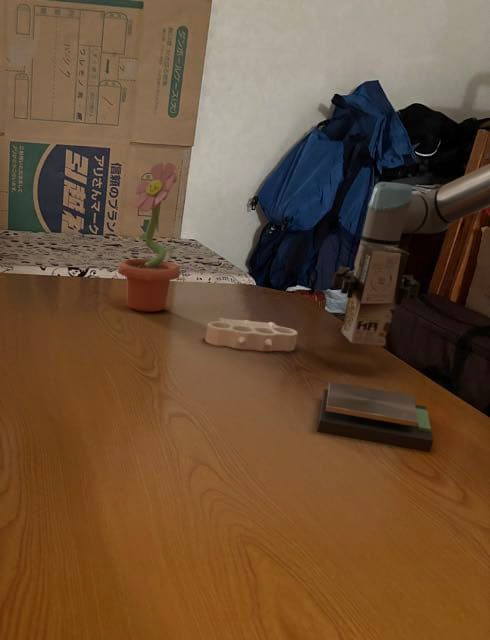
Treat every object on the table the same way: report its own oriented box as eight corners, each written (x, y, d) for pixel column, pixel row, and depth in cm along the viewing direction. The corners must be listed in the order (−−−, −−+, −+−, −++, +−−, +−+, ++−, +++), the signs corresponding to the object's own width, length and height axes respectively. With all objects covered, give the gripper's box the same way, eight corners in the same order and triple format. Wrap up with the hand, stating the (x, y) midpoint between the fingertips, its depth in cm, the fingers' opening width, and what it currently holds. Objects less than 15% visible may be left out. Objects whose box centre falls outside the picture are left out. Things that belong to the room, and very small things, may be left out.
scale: (422, 416, 125) (426, 403, 124) (429, 452, 112) (434, 437, 111) (322, 399, 129) (325, 386, 128) (317, 431, 115) (320, 417, 114)
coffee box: (386, 347, 139) (410, 252, 131) (350, 344, 139) (372, 249, 132) (373, 334, 147) (396, 244, 139) (339, 331, 147) (360, 242, 140)
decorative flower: (101, 301, 179) (113, 156, 164) (151, 298, 185) (167, 159, 170) (134, 317, 167) (151, 164, 153) (186, 314, 174) (207, 167, 159)
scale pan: (411, 402, 123) (413, 395, 123) (415, 429, 112) (418, 421, 112) (328, 388, 126) (329, 381, 126) (324, 413, 115) (326, 405, 115)
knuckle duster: (284, 336, 163) (300, 356, 151) (200, 329, 163) (208, 349, 150) (288, 320, 162) (304, 339, 149) (202, 313, 161) (211, 331, 148)
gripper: (422, 299, 153) (431, 323, 134) (317, 284, 158) (311, 306, 139) (434, 259, 150) (444, 279, 130) (326, 246, 154) (320, 263, 135)
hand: (375, 293), depth 135 cm, fingers closed on coffee box, 8 cm apart
